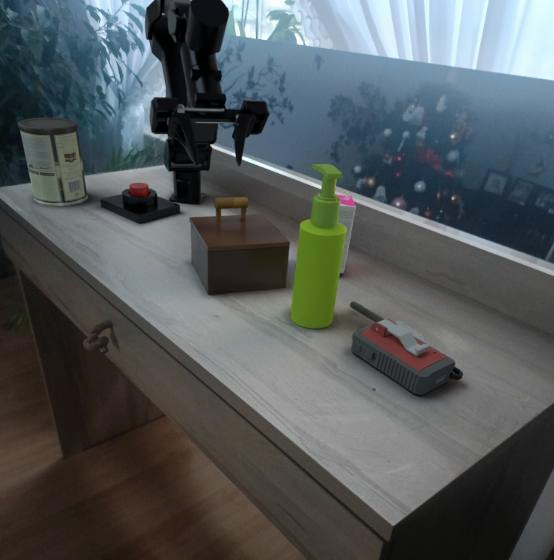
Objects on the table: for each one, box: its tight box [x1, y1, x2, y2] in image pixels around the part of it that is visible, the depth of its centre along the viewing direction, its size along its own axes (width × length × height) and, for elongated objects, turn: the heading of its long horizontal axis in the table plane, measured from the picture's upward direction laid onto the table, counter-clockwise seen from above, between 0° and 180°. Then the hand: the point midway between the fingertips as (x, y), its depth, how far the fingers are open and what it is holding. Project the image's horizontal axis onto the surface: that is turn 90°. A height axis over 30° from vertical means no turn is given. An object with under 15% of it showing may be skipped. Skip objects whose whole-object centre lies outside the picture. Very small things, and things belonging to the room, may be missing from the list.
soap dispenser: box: [290, 163, 347, 330], centre depth 66 cm, size 6×7×20 cm
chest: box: [190, 224, 290, 296], centre depth 79 cm, size 11×12×7 cm
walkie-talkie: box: [349, 300, 464, 396], centre depth 65 cm, size 9×4×20 cm
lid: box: [189, 196, 291, 252], centre depth 76 cm, size 12×12×4 cm
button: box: [128, 182, 150, 196], centre depth 99 cm, size 4×4×2 cm
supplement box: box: [317, 192, 357, 277], centre depth 82 cm, size 6×6×12 cm
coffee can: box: [17, 117, 89, 207], centre depth 99 cm, size 10×10×14 cm
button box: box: [99, 188, 181, 225], centre depth 100 cm, size 10×12×4 cm
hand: (218, 165), depth 82 cm, fingers open, 7 cm apart
